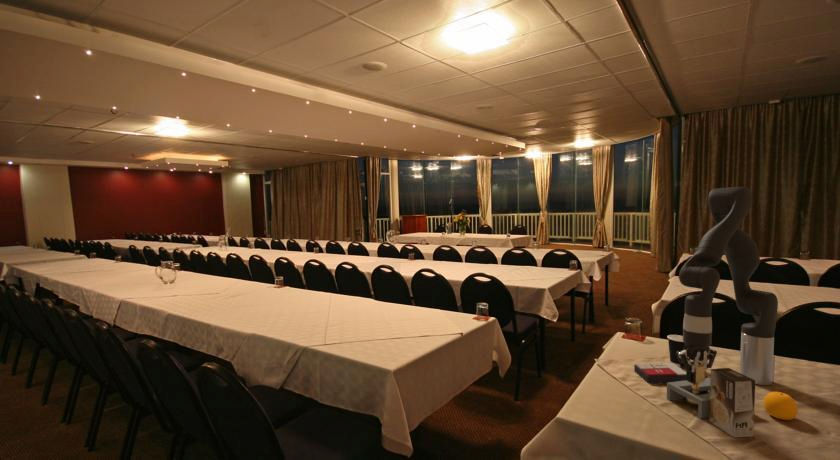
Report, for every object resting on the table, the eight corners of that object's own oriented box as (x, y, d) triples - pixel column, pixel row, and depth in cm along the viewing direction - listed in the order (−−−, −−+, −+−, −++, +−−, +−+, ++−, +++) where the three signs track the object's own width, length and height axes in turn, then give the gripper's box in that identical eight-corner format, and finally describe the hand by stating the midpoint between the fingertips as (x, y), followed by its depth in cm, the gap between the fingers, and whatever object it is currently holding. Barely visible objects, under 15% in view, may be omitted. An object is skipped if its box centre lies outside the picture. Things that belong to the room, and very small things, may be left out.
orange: (760, 408, 128) (761, 385, 128) (793, 414, 124) (794, 390, 124) (766, 419, 121) (767, 395, 121) (801, 426, 117) (802, 401, 117)
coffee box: (755, 436, 112) (757, 380, 111) (733, 438, 111) (735, 381, 111) (727, 419, 121) (729, 367, 120) (707, 420, 121) (709, 368, 120)
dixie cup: (661, 361, 167) (662, 335, 166) (678, 360, 168) (679, 334, 167) (676, 369, 159) (677, 341, 158) (694, 367, 160) (695, 340, 159)
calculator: (633, 362, 157) (673, 361, 156) (634, 373, 157) (674, 372, 156) (647, 374, 146) (690, 373, 145) (648, 386, 146) (691, 384, 145)
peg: (694, 397, 132) (695, 361, 131) (708, 404, 127) (709, 367, 126) (682, 399, 131) (683, 362, 130) (695, 406, 126) (696, 368, 125)
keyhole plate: (710, 392, 138) (711, 377, 138) (749, 411, 126) (749, 394, 125) (666, 398, 134) (667, 382, 134) (701, 418, 122) (701, 400, 121)
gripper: (704, 323, 133) (703, 374, 134) (668, 326, 130) (667, 379, 131) (726, 330, 126) (724, 384, 126) (689, 333, 123) (687, 389, 123)
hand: (695, 381), depth 129 cm, fingers closed on peg, 3 cm apart
